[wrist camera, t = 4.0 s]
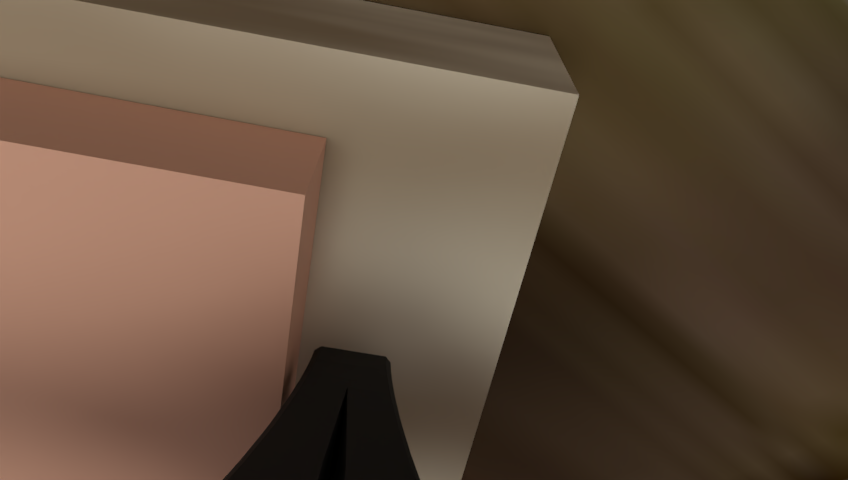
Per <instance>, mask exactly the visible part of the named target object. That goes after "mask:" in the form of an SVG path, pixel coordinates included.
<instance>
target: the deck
mask: <svg viewBox="0 0 848 480" xmlns="http://www.w3.org/2000/svg"><path fill="white" fill-rule="evenodd" d="M0 77H1V78H6V79H12V80H17V81H23V82H28V83H33V84H39V85H44V86H50V87H55V88H60V89H66V90H71V91H76V92H82V93H87V94H93V95H98V96H103V97H109V98H114V99H119V100H125V101H130V102H136V103H141V104H146V105H152V106H157V107H162V108H168V109H173V110H179V111H184V112H189V113H195V114H200V115H206V116H211V117H216V118H222V119H227V120H232V121H238V122H243V123H249V124H254V125H259V126H265V127H270V128H275V129H281V130H286V131H292V132H297V133H302V134H308V135H313V136H318V137H324V138H327V139H326V147H325V154H324V162H323V170H322V178H321V186H320V193H319V201H318V209H317V217H316V225H315V233H314V240H313V248H312V256H311V264H310V272H309V279H308V287H307V295H306V303H305V311H304V319H303V326H302V334H301V342H300V350H299V358H298V365H297V373H296V381H295V386H296V385H297V383H298V382H299V380H300V378H301V376H302V375H303V373H304V371H305V369H306V367H307V366H308V364H309V362H310V360H311V357H312V355H313V352H314V350H315V349H317V348H319V347H321V346H324V347H330V348H336V349H342V350H348V351H355V352H361V353H367V354H373V355H380V356H386V357H387V359H388V360H389V361H390V362H391V375H392V383H393V389H394V394H395V399H396V403H397V407H398V412H399V416H400V419H401V423H402V427H403V430H404V433H405V437H406V440H407V443H408V446H409V449H410V453H411V456H412V459H413V461H414V464H415V467H416V470H417V473H418V475H419V478H420V480H461V479H462V476H463V472H464V469H465V466H466V463H467V459H468V456H469V453H470V450H471V446H472V443H473V440H474V437H475V433H476V430H477V427H478V423H479V420H480V417H481V414H482V410H483V407H484V404H485V401H486V397H487V394H488V391H489V388H490V384H491V381H492V378H493V375H494V371H495V368H496V365H497V361H498V358H499V355H500V352H501V348H502V345H503V342H504V339H505V335H506V332H507V329H508V326H509V322H510V319H511V316H512V312H513V309H514V306H515V303H516V299H517V296H518V293H519V290H520V286H521V283H522V280H523V277H524V273H525V270H526V267H527V264H528V260H529V257H530V254H531V250H532V247H533V244H534V241H535V237H536V234H537V231H538V228H539V224H540V221H541V218H542V215H543V211H544V208H545V205H546V202H547V198H548V195H549V192H550V188H551V185H552V182H553V179H554V175H555V172H556V169H557V166H558V162H559V159H560V156H561V153H562V149H563V146H564V143H565V139H566V136H567V133H568V130H569V126H570V123H571V120H572V117H573V113H574V110H575V107H576V104H577V100H578V97H579V94H578V92H577V90H576V88H575V86H574V84H573V82H572V80H571V78H570V76H569V74H568V72H567V70H566V68H565V66H564V64H563V62H562V60H561V58H560V56H559V54H558V52H557V50H556V48H555V46H554V44H553V42H552V41H551V39H550V37H549V36H545V35H540V34H535V33H529V32H524V31H519V30H514V29H509V28H503V27H498V26H493V25H488V24H483V23H478V22H472V21H467V20H462V19H457V18H452V17H447V16H441V15H436V14H431V13H426V12H421V11H416V10H410V9H405V8H400V7H395V6H390V5H385V4H379V3H374V2H369V1H364V0H0Z"/></svg>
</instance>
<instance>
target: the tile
mask: <svg viewBox="0 0 848 480" xmlns="http://www.w3.org/2000/svg"><path fill="white" fill-rule="evenodd" d="M326 139H327V138H324V137H318V136H313V135H308V134H302V133H297V132H292V131H286V130H281V129H275V128H270V127H265V126H259V125H254V124H249V123H243V122H238V121H232V120H227V119H222V118H216V117H211V116H206V115H200V114H195V113H189V112H184V111H179V110H173V109H168V108H162V107H157V106H152V105H146V104H141V103H136V102H130V101H125V100H119V99H114V98H109V97H103V96H98V95H93V94H87V93H82V92H76V91H71V90H66V89H60V88H55V87H50V86H44V85H39V84H33V83H28V82H23V81H17V80H12V79H6V78H1V77H0V480H223V479H224V478H225V476H226V475H227V474H228V473H229V472H230V471H231V470H232V469H233V468H234V467H235V465H236V464H237V463H238V462H239V461H240V460H241V458H242V457H243V456H244V455H245V454H246V452H247V451H248V450H249V449H250V448H251V446H252V445H253V444H254V443H255V441H256V440H257V439H258V438H259V437H260V435H261V434H262V433H263V432H264V430H265V429H266V428H267V427H268V425H269V424H270V423H271V421H272V420H273V418H274V417H275V416H276V414H277V413H278V411H279V410H280V409H281V407H282V406H283V404H284V403H285V401H286V400H287V399H288V397H289V396H290V394H291V393H292V391H293V389H294V388H295V381H296V373H297V365H298V358H299V350H300V342H301V334H302V326H303V319H304V311H305V303H306V295H307V287H308V279H309V272H310V264H311V256H312V248H313V240H314V233H315V225H316V217H317V209H318V201H319V193H320V186H321V178H322V170H323V162H324V154H325V147H326Z"/></svg>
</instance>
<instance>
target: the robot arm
mask: <svg viewBox="0 0 848 480" xmlns="http://www.w3.org/2000/svg"><path fill="white" fill-rule="evenodd" d="M223 480H420V478H419V475H418V473H417V470H416V467H415V464H414V461H413V459H412V456H411V453H410V449H409V446H408V443H407V440H406V437H405V433H404V430H403V427H402V423H401V419H400V416H399V412H398V407H397V403H396V399H395V394H394V389H393V383H392V375H391V362H390V361H389V360H388V359H387V357H386V356H380V355H373V354H367V353H361V352H355V351H348V350H342V349H336V348H330V347H324V346H321V347H319V348H317V349H315V350H314V352H313V355H312V357H311V360H310V362H309V364H308V366H307V367H306V369H305V371H304V373H303V375H302V376H301V378H300V380H299V382H298V383H297V385H296V386H295V388H294V389H293V391H292V393H291V394H290V396H289V397H288V399H287V400H286V401H285V403H284V404H283V406H282V407H281V409H280V410H279V411H278V413H277V414H276V416H275V417H274V418H273V420H272V421H271V423H270V424H269V425H268V427H267V428H266V429H265V430H264V432H263V433H262V434H261V435H260V437H259V438H258V439H257V440H256V441H255V443H254V444H253V445H252V446H251V448H250V449H249V450H248V451H247V452H246V454H245V455H244V456H243V457H242V458H241V460H240V461H239V462H238V463H237V464H236V465H235V467H234V468H233V469H232V470H231V471H230V472H229V473H228V474H227V475H226V476H225V478H224V479H223Z"/></svg>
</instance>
